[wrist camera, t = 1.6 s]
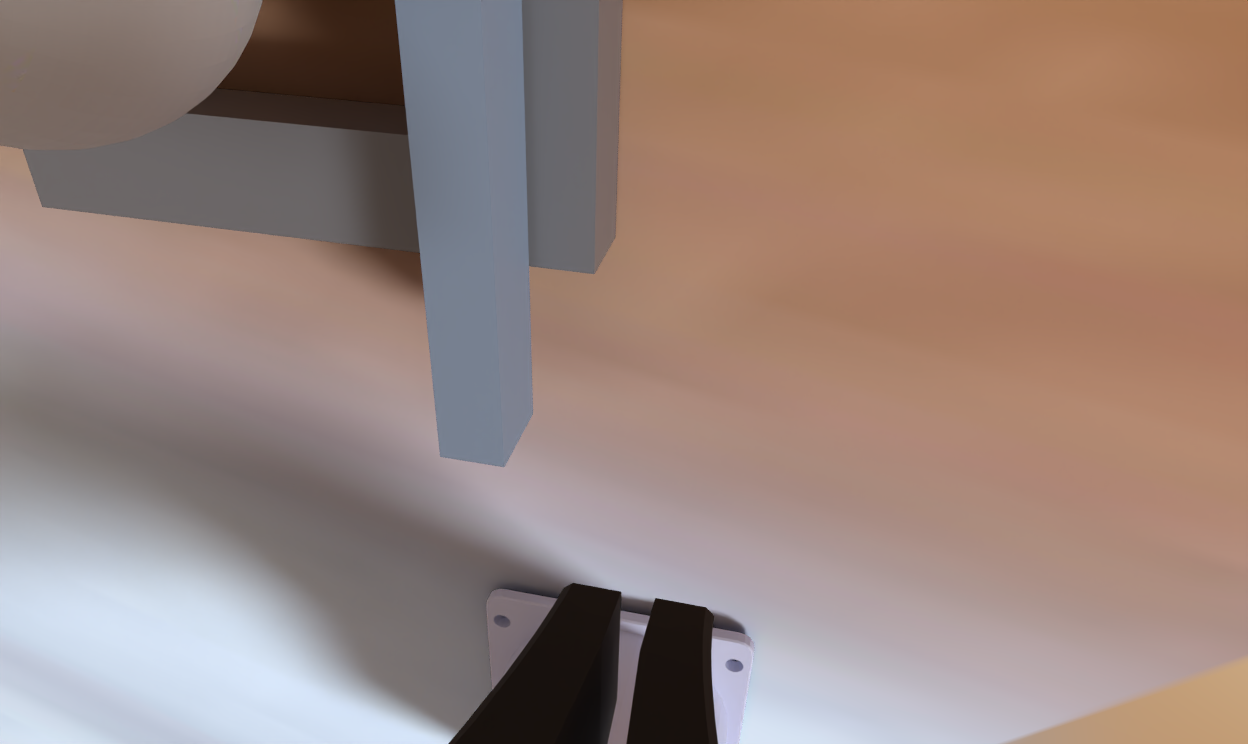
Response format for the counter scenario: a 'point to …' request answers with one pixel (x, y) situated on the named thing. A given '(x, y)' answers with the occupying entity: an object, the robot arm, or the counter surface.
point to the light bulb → (111, 66)
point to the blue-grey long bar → (471, 216)
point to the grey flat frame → (369, 155)
